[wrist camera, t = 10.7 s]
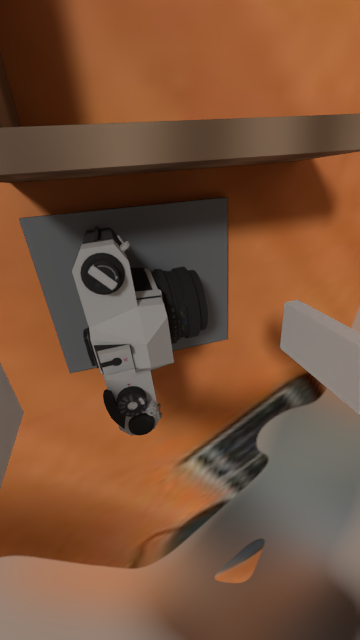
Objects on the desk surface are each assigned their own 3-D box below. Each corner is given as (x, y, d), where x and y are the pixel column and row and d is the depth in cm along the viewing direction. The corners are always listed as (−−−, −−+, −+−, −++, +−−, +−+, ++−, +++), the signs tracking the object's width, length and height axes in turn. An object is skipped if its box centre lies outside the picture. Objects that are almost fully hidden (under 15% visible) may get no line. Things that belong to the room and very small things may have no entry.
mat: (70, 368, 23) (70, 373, 22) (21, 217, 17) (18, 218, 17) (224, 335, 25) (227, 339, 25) (224, 197, 20) (227, 197, 19)
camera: (197, 359, 25) (244, 427, 17) (115, 384, 24) (122, 471, 15) (172, 211, 20) (221, 206, 12) (64, 232, 18) (35, 243, 10)
